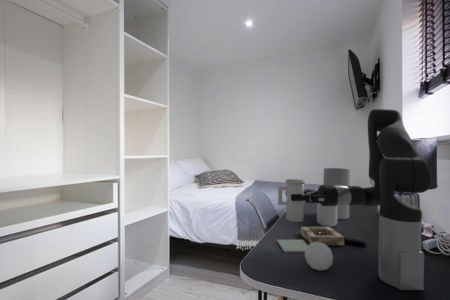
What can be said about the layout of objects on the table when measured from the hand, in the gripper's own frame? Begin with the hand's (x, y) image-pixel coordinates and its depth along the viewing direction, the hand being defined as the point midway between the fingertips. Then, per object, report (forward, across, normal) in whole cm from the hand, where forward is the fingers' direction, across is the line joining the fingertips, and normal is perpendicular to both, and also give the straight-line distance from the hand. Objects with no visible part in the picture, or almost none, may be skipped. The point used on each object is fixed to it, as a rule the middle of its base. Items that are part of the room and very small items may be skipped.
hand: (288, 195), depth 88 cm
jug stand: (-15, -7, +18) cm, 25 cm away
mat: (-2, 0, +18) cm, 19 cm away
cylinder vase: (-37, -39, +19) cm, 57 cm away
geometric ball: (-4, +16, +19) cm, 25 cm away
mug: (-27, -27, +19) cm, 43 cm away
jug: (-1, 0, +9) cm, 9 cm away
